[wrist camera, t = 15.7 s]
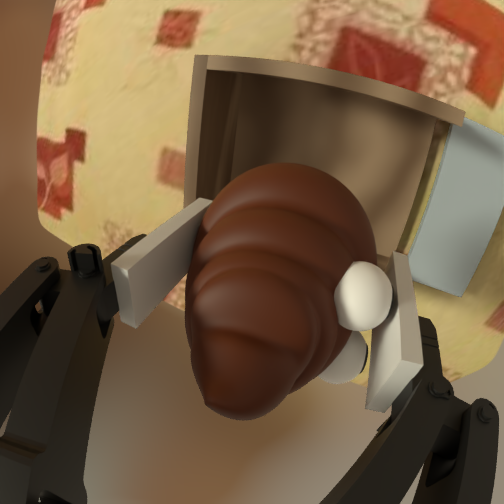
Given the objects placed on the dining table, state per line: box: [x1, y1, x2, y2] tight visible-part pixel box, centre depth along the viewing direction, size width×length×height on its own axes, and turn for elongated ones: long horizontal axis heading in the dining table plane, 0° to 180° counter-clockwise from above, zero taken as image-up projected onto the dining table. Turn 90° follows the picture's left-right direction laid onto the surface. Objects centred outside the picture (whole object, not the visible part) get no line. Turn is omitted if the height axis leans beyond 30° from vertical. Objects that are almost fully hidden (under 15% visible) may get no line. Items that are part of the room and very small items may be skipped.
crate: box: [183, 55, 465, 272], centre depth 26 cm, size 20×18×9 cm
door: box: [408, 117, 504, 297], centre depth 25 cm, size 1×18×8 cm
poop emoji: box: [185, 163, 394, 420], centre depth 11 cm, size 10×8×9 cm
